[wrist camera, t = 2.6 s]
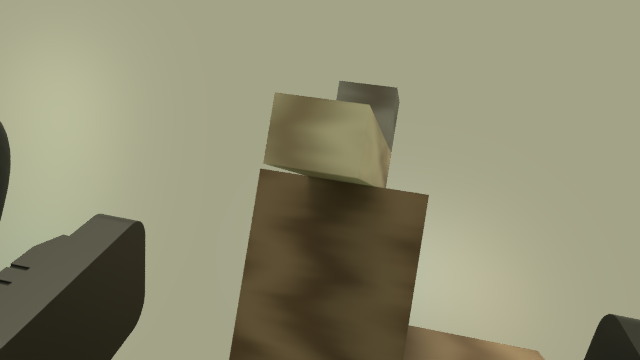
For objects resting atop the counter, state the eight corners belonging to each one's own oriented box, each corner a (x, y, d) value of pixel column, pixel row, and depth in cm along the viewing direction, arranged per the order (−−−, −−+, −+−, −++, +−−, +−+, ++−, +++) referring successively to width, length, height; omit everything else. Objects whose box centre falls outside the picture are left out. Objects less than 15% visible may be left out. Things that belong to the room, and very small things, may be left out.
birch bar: (263, 163, 23) (290, -2, 23) (334, 183, 42) (348, 95, 42) (357, 178, 22) (385, 7, 22) (385, 191, 41) (399, 101, 42)
